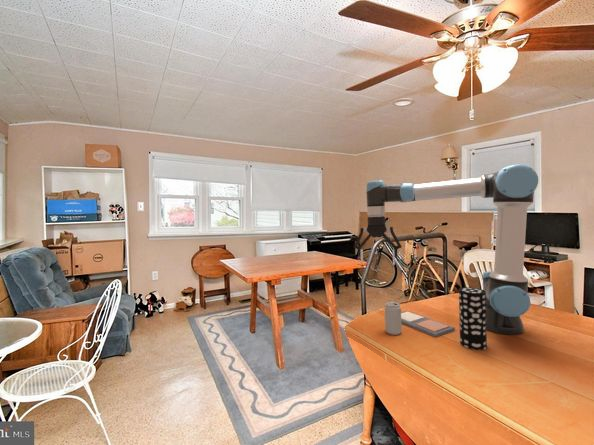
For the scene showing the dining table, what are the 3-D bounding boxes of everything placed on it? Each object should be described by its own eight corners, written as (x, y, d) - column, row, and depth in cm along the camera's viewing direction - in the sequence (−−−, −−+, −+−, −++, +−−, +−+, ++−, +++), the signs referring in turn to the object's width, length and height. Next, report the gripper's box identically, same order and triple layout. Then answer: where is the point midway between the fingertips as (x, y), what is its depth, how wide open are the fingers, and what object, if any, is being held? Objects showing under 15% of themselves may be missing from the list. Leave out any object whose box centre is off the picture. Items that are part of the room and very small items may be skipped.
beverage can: (402, 336, 114) (402, 306, 113) (386, 335, 115) (385, 306, 114) (400, 329, 120) (399, 301, 119) (384, 328, 121) (383, 301, 121)
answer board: (454, 330, 117) (454, 326, 117) (435, 337, 111) (435, 333, 111) (407, 313, 138) (407, 310, 138) (389, 318, 132) (389, 315, 132)
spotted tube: (478, 352, 99) (476, 295, 98) (455, 342, 106) (453, 289, 105) (491, 346, 102) (490, 291, 102) (468, 337, 110) (467, 286, 109)
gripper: (405, 215, 125) (407, 262, 126) (348, 217, 133) (350, 262, 133) (406, 215, 118) (408, 266, 119) (346, 217, 126) (348, 265, 126)
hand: (377, 264), depth 126 cm, fingers open, 13 cm apart
